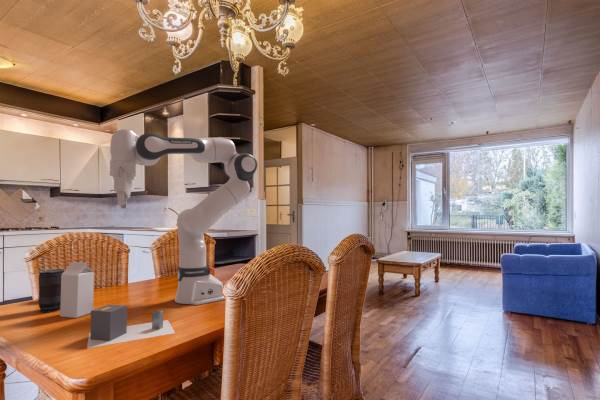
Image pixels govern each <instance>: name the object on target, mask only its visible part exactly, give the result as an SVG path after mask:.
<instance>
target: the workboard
mask: <svg viewBox="0 0 600 400" xmlns="http://www.w3.org/2000/svg"><path fill="white" fill-rule="evenodd" d="M90 333H91V331H89V333H88V340H87V344H86V349H92V348H97V347H103V346H109V345H114V344H120V343H121V344H122V343H125V342H126V343H127V342H132V341H137V340H143V339H150V338H155V337H160V336H166V335H171V334H172V335H174V334H176V332H175V330H174V329H173V327H172V324H171V323H170V320H168V319H165V320H164V319H163V328H162V329H160V330H159V329H152V321H151V322H146V323H139V324H138V323H137V324H134V325H133V324H131V325H127V333H126V334H124V335H122V336H120V337H118V338H116V339H113V340H111V341H102V340H91V339H90Z"/></svg>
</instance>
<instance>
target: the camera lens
mask: <svg viewBox="0 0 600 400" xmlns="http://www.w3.org/2000/svg"><path fill="white" fill-rule="evenodd" d="M64 271H65V269H63V268H56V269H47V270H42V271H40V272H39V273H38V274H39V275H38V308H39V309H40V310H39V311H40V312H41V313H53V312H54V313H55V312H59V311H60V306H61V275H62V273H63V272H64ZM58 310H59V311H58Z"/></svg>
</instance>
